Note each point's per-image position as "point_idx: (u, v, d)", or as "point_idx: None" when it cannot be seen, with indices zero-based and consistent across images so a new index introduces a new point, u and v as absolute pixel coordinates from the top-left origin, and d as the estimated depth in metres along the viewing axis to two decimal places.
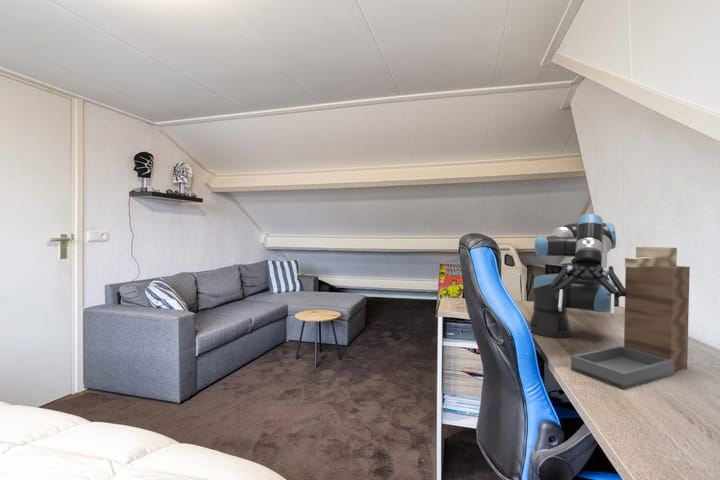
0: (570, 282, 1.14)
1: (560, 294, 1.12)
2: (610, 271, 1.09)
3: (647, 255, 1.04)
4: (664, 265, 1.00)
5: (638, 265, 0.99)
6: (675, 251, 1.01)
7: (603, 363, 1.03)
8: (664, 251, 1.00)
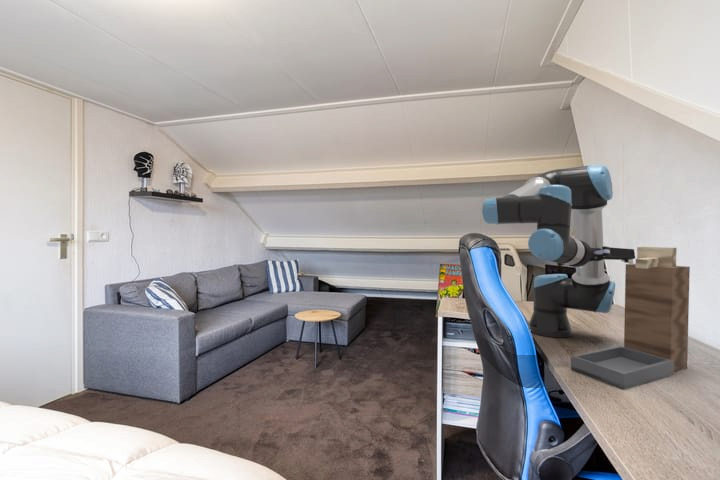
0: None
1: (573, 266, 1.08)
2: (607, 256, 0.93)
3: (649, 255, 1.03)
4: (668, 265, 1.00)
5: (648, 266, 0.97)
6: (675, 251, 1.02)
7: (603, 363, 1.03)
8: (667, 251, 1.00)
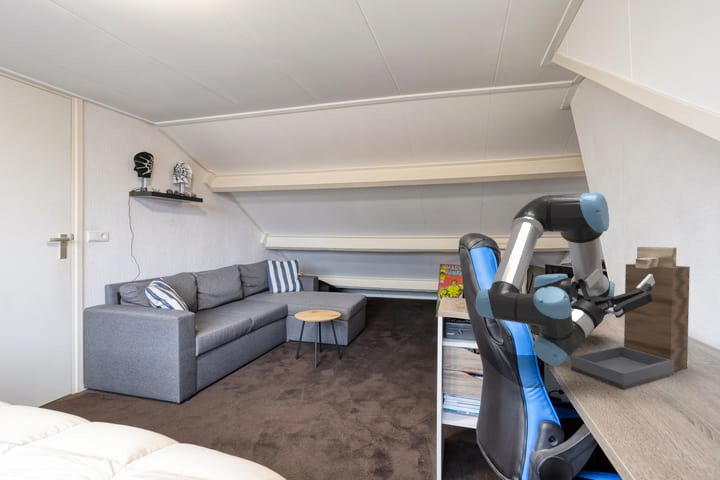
0: None
1: None
2: None
3: (649, 255, 1.03)
4: (668, 265, 1.00)
5: (648, 266, 0.97)
6: (675, 251, 1.02)
7: (603, 363, 1.03)
8: (667, 251, 1.00)
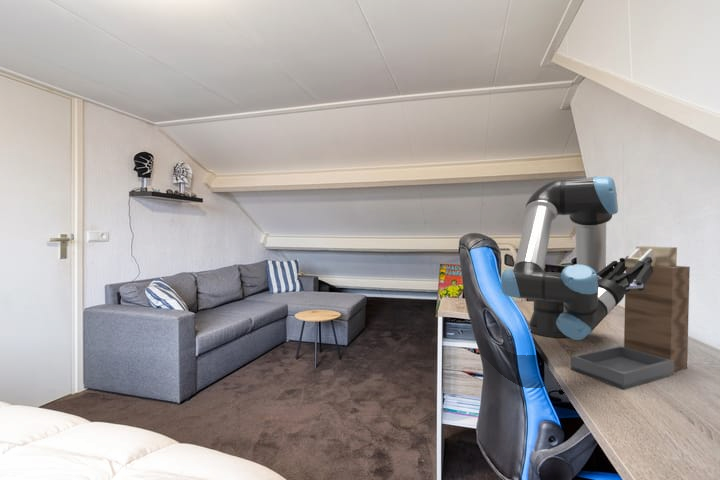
0: (620, 272, 1.00)
1: None
2: None
3: None
4: (664, 265, 1.00)
5: None
6: (675, 251, 1.01)
7: (603, 363, 1.03)
8: (664, 251, 1.00)
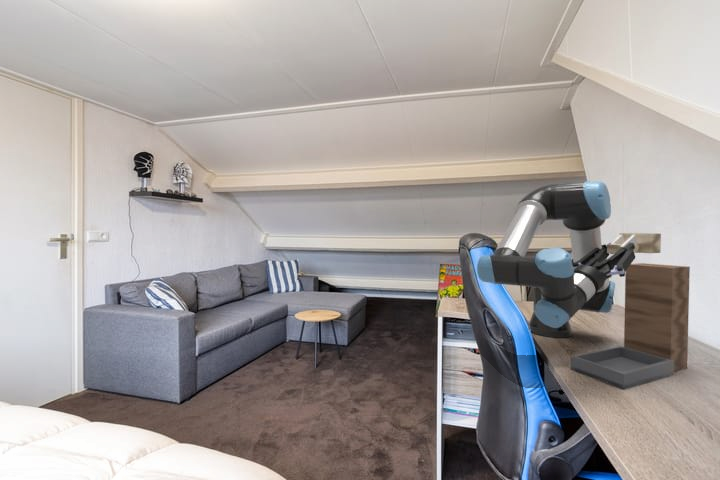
0: (601, 259, 0.96)
1: None
2: None
3: None
4: (647, 251, 0.97)
5: None
6: (659, 237, 0.98)
7: (603, 363, 1.03)
8: (647, 237, 0.97)
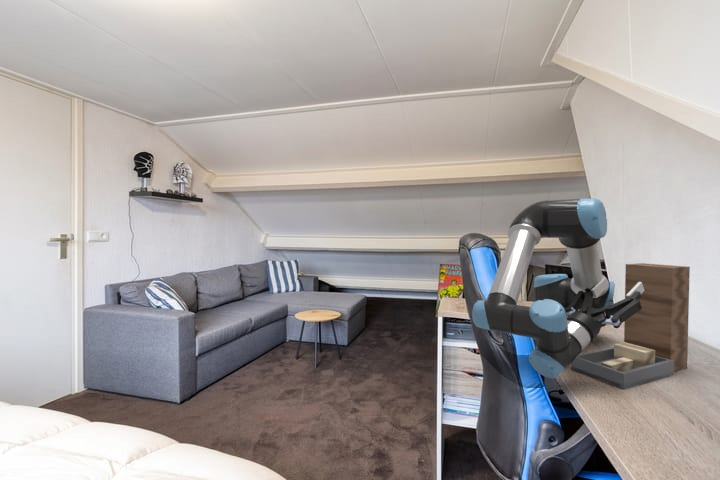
0: (590, 303, 0.97)
1: None
2: None
3: (625, 355, 1.01)
4: None
5: None
6: (653, 354, 0.98)
7: None
8: (641, 355, 0.97)
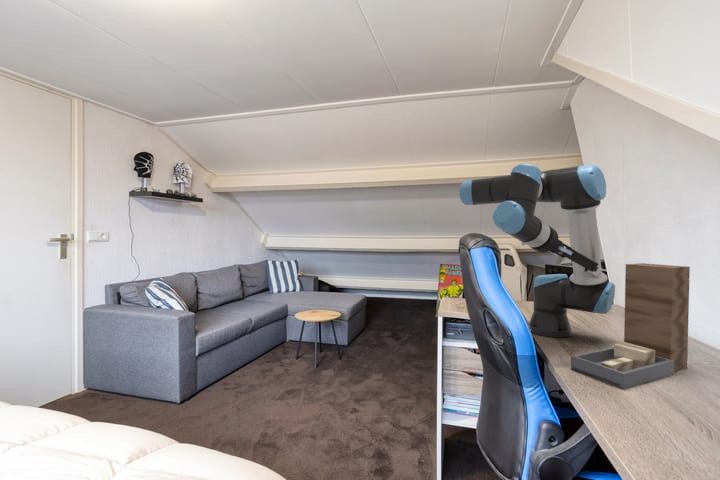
0: None
1: (548, 250, 1.09)
2: (567, 257, 0.93)
3: (625, 355, 1.01)
4: None
5: None
6: (653, 354, 0.98)
7: None
8: (641, 355, 0.97)
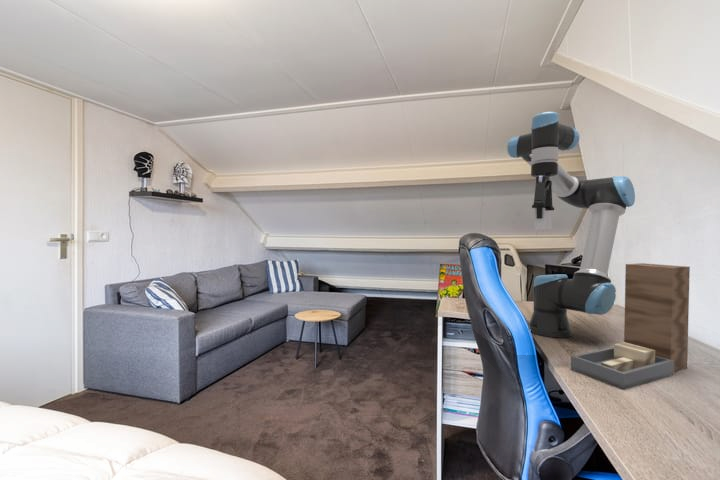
0: (545, 199, 1.14)
1: None
2: (536, 182, 1.06)
3: (625, 355, 1.01)
4: None
5: None
6: (653, 354, 0.98)
7: None
8: (641, 355, 0.97)
